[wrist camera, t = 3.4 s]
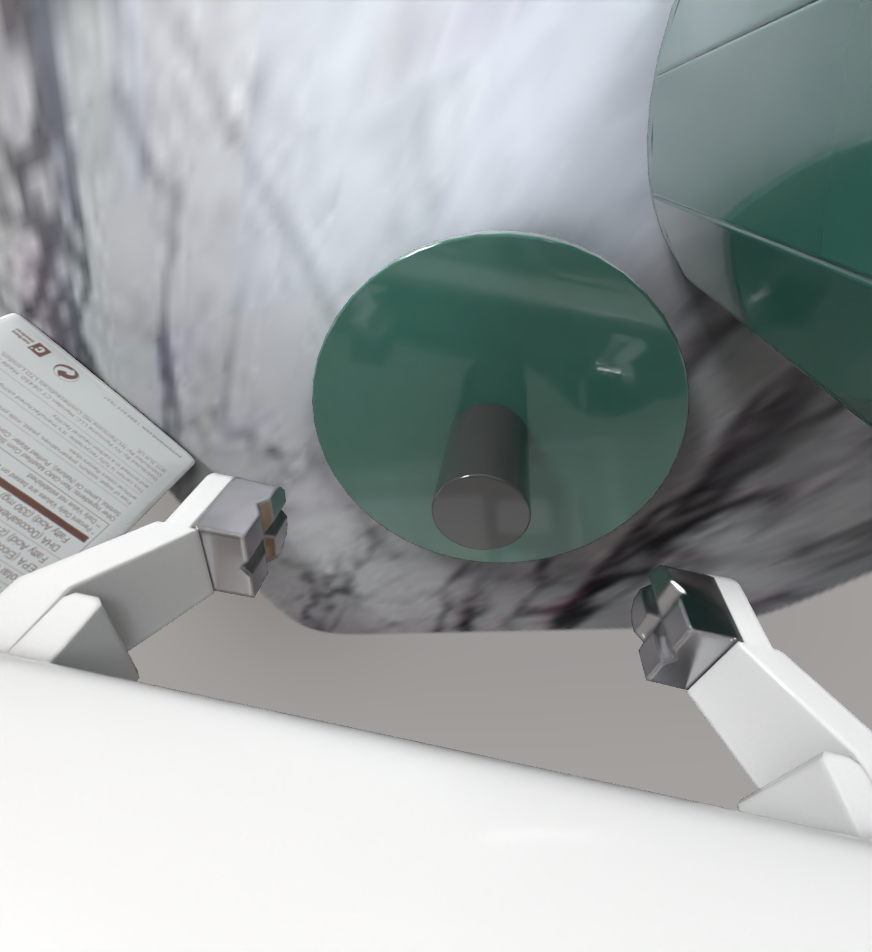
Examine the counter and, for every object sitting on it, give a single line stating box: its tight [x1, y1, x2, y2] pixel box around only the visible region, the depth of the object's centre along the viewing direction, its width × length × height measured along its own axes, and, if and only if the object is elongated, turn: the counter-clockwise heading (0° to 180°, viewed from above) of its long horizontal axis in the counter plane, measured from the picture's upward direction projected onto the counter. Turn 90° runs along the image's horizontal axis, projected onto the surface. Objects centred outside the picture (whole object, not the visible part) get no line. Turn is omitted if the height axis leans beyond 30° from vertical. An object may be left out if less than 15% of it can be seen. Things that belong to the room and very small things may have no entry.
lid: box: [312, 230, 689, 563], centre depth 12 cm, size 11×11×5 cm
